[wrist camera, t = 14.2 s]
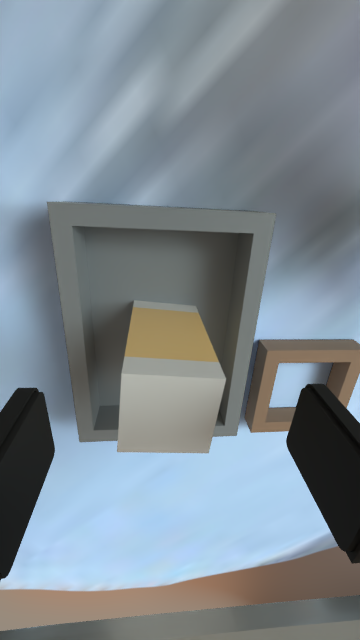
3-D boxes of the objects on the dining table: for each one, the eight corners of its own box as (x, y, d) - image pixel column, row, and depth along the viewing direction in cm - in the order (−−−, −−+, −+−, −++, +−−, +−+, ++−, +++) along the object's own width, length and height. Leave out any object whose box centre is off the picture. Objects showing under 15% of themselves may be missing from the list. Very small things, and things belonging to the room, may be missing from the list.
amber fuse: (134, 300, 17) (121, 373, 10) (195, 305, 18) (226, 378, 11) (130, 354, 19) (117, 452, 12) (186, 357, 19) (208, 453, 12)
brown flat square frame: (259, 339, 20) (267, 350, 19) (353, 339, 21) (368, 350, 19) (244, 417, 23) (250, 432, 22) (327, 415, 24) (338, 429, 22)
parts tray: (65, 201, 15) (46, 201, 12) (255, 211, 16) (276, 213, 14) (88, 410, 21) (79, 441, 18) (226, 406, 22) (236, 435, 20)
